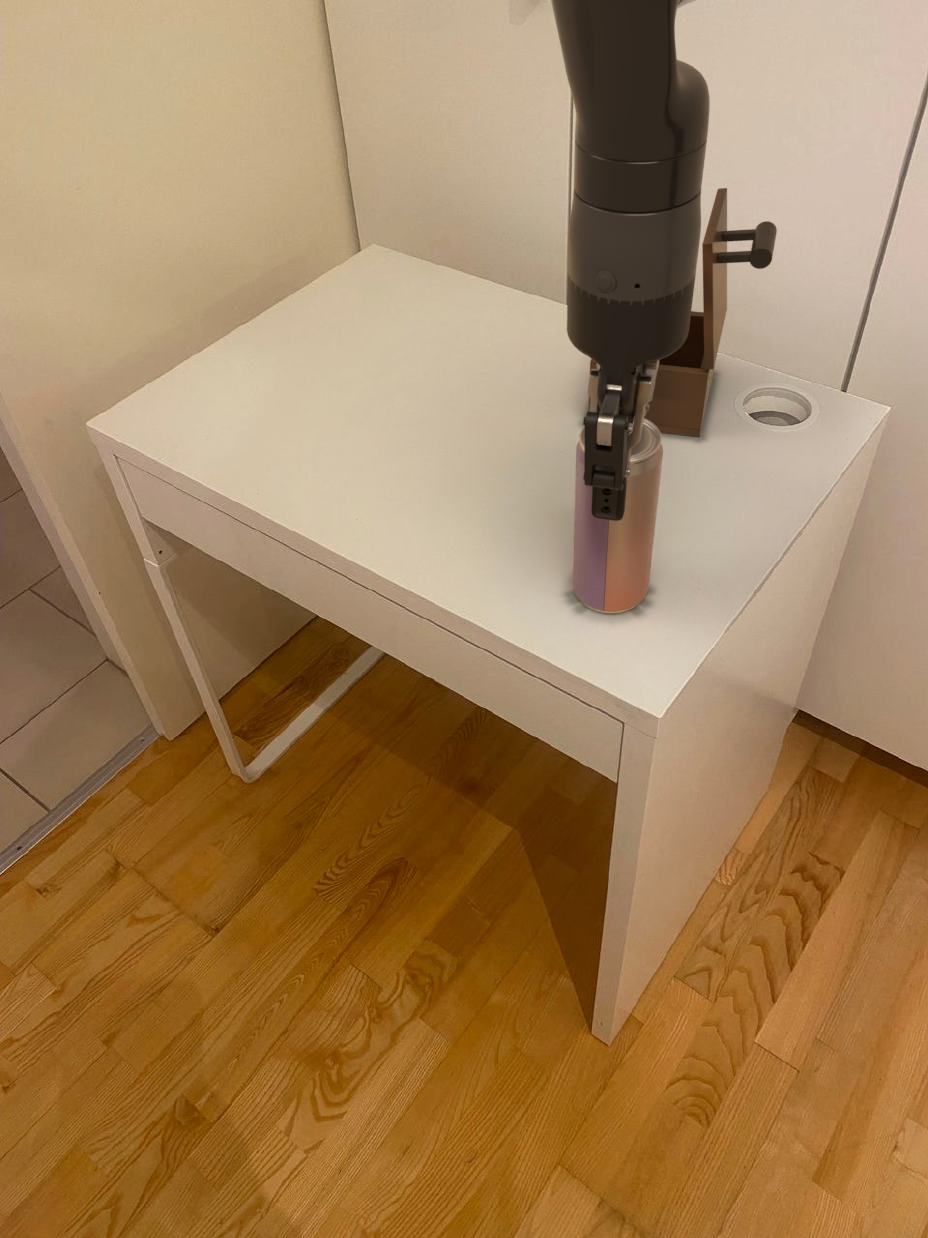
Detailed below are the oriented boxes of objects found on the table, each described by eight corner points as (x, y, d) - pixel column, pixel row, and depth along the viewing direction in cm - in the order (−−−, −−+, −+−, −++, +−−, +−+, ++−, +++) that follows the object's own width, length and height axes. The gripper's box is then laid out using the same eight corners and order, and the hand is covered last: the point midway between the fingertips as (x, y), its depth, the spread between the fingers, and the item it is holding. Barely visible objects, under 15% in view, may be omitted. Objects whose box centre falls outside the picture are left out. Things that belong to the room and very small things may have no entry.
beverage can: (565, 610, 75) (567, 456, 64) (580, 559, 79) (586, 406, 68) (640, 623, 74) (657, 468, 63) (653, 570, 77) (670, 416, 67)
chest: (587, 423, 92) (589, 361, 87) (608, 364, 99) (611, 303, 94) (699, 437, 89) (708, 374, 84) (713, 375, 96) (722, 313, 91)
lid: (702, 243, 76) (770, 240, 74) (717, 188, 83) (780, 183, 81) (704, 369, 84) (766, 368, 82) (718, 309, 91) (775, 307, 89)
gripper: (678, 333, 51) (652, 562, 63) (711, 214, 60) (683, 434, 72) (541, 319, 53) (542, 545, 65) (593, 207, 62) (585, 422, 74)
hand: (616, 486), depth 69 cm, fingers closed on beverage can, 6 cm apart
